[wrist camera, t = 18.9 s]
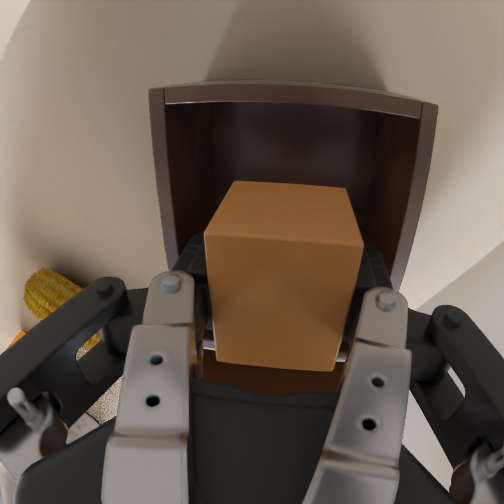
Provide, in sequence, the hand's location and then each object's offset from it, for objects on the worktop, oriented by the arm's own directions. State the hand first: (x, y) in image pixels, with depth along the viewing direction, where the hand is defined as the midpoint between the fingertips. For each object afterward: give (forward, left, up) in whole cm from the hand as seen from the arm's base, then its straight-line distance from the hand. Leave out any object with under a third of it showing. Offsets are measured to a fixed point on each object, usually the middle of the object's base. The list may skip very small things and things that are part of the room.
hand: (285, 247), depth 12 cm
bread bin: (+2, 0, -12) cm, 12 cm away
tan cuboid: (0, 0, 0) cm, 0 cm away
